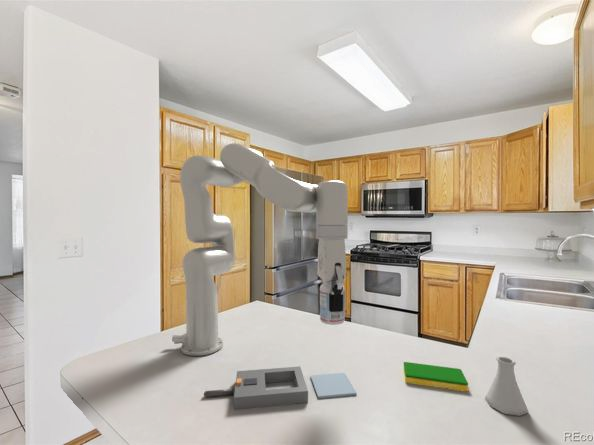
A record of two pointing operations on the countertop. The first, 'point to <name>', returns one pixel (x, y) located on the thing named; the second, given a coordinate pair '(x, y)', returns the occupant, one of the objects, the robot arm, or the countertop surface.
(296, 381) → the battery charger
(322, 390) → the slate mat
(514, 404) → the flask
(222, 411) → the countertop surface
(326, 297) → the pill bottle
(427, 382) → the dish sponge
